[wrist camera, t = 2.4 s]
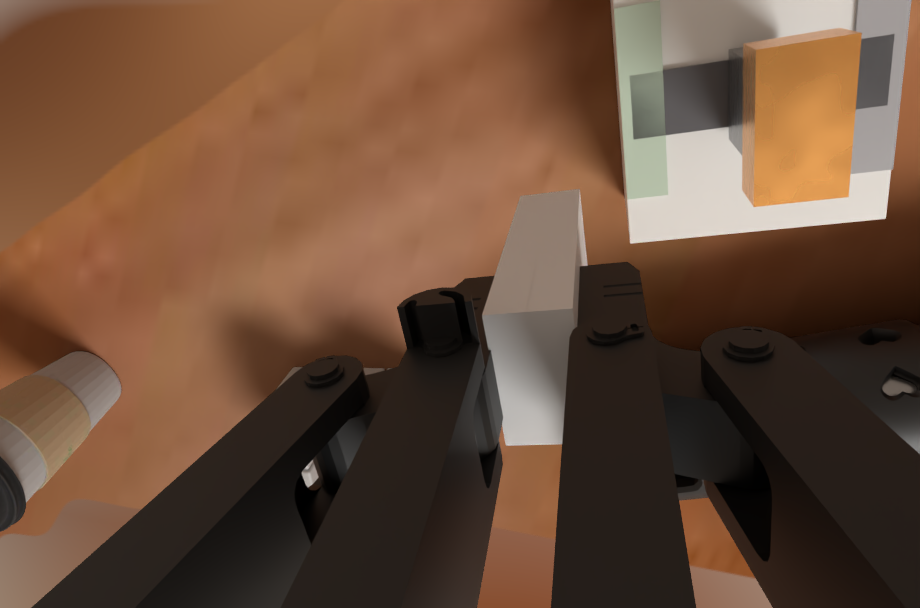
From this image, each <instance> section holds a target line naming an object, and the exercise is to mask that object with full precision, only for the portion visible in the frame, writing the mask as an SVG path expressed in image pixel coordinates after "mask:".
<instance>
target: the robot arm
mask: <svg viewBox="0 0 920 608" xmlns="http://www.w3.org/2000/svg"><path fill="white" fill-rule="evenodd" d="M397 309H398V313H399V318H400V322H401V326H402V330H403V334H404V338H405V342H406V346H407V350H406V352H405V354H404V356H403V358H402V360H401V362H400V364H399V367H395V368H392V369H389V370H385V371H381V372H377V373H373V374H368V375H365V373H364V369H363V366H362V363H361V362H360V361H359V360H358V359H357V358H354V357H350V356H327V357H326V358H325V357H323V358H320V359H317V360H316V361H314V362H312V363H310V364H307V365H305V366H304V367H302V368H301V369H300V370H298V371H297V372H295V373H294V374H293V375H292V376H291V377H290V378H288V379H287V380H286V381H285V382H284V383H283V384H282V385H281V386H279V387H278V388H277V389H276V390H275V391H274V392H273V393H272V394H271V395H269V396H268V397H267V398H266V399H265V400H264V401H263V402H262V403H260V404H259V405H258V406H257V407H256V408H255V409H254V410H253V411H251V412H250V413H249V414H248V415H247V416H246V417H245V418H244V419H242V420H241V421H240V422H239V423H238V424H237V425H236V426H235V427H234V428H232V429H231V430H230V431H229V432H228V433H227V434H226V435H225V436H223V437H222V438H221V439H220V440H219V441H218V442H217V443H216V444H214V445H213V446H212V447H211V448H210V449H209V450H208V451H207V452H205V453H204V454H203V455H202V456H201V457H200V458H199V459H198V460H196V461H195V462H194V463H193V464H192V465H191V466H190V467H189V468H188V469H186V470H185V471H184V472H183V473H182V474H181V475H180V476H179V477H177V478H176V479H175V480H174V481H173V482H172V483H171V484H170V485H168V486H167V487H166V488H165V489H164V490H163V491H162V492H161V493H159V494H158V495H157V496H156V497H155V498H154V499H153V500H152V501H151V502H149V503H148V504H147V505H146V506H145V507H144V508H143V509H142V510H140V511H139V512H138V513H137V514H136V515H135V516H134V517H133V518H132V519H130V520H129V521H128V522H127V523H126V524H125V525H124V526H122V527H121V528H120V529H119V530H118V531H117V532H116V533H115V534H114V535H113V536H111V537H110V538H109V539H108V540H107V541H106V542H105V543H103V544H102V545H101V546H100V547H99V548H98V549H97V550H96V551H94V552H93V553H92V554H91V555H90V556H89V557H88V558H87V559H85V560H84V561H83V562H82V563H81V564H80V565H79V566H78V567H76V568H75V569H74V570H73V571H72V572H71V573H70V574H69V575H68V576H66V577H65V578H64V579H63V580H62V581H61V582H60V583H59V584H57V585H56V586H55V587H54V588H53V589H52V590H51V591H50V592H49V593H47V594H46V595H45V596H44V597H43V598H42V599H41V600H39V601H38V602H37V603H36V604H35V605H34V606H33V607H32V608H477V605H478V599H479V594H480V588H481V582H482V577H483V571H484V566H485V560H486V555H487V549H488V543H489V538H490V532H491V527H492V521H493V515H494V510H495V504H496V499H497V493H498V487H499V482H500V476H501V471H502V465H503V462H502V454H501V449H500V444H499V436H500V431H501V426H503V432H504V437H505V443H506V446H510V445H547V444H562V455H561V469H560V484H559V499H558V513H557V528H556V543H555V557H554V572H553V587H552V601H551V608H696V604H695V598H694V592H693V586H692V579H691V573H690V567H689V560H688V554H687V548H686V542H685V535H684V529H683V523H682V517H681V510H680V504H679V498H678V492H677V486H676V479H675V474H678V475H682V476H687V477H692V478H696V479H701V480H704V486H705V490H706V493H707V495H708V497H709V499H710V501H711V502H712V504H713V506H714V507H715V509H716V511H717V513H718V514H719V516H720V518H721V519H722V521H723V523H724V525H725V526H726V528H727V530H728V531H729V533H730V535H731V537H732V538H733V540H734V542H735V543H736V545H737V547H738V549H739V550H740V552H741V554H742V555H743V557H744V559H745V561H746V562H747V564H748V566H749V567H750V569H751V571H752V573H753V574H754V576H755V578H756V579H757V581H758V582H759V585H760V586H761V588H762V590H763V591H764V593H765V595H766V597H767V598H768V600H769V602H770V603H771V605H772V607H773V608H920V454H919V453H918V452H917V451H916V450H915V449H913V448H912V447H911V446H910V445H909V444H908V443H907V442H906V441H905V440H903V439H902V438H901V437H900V436H899V435H898V434H897V433H896V432H895V431H893V430H892V429H891V428H890V427H889V426H888V425H887V424H886V423H885V422H883V421H882V420H881V419H880V418H879V417H878V416H877V415H876V414H875V413H873V412H872V411H871V410H870V409H869V408H868V407H867V406H866V405H865V404H863V403H862V402H861V401H860V400H859V399H858V398H857V397H856V396H854V395H853V394H852V393H851V392H850V391H849V390H848V389H847V388H846V387H844V386H843V385H842V384H841V383H840V382H839V381H838V380H837V379H836V378H834V377H833V376H832V375H831V374H830V373H829V372H828V371H827V370H826V369H824V368H823V367H822V366H821V365H820V364H819V363H818V362H817V361H816V360H814V359H813V358H812V357H811V356H810V355H809V354H808V353H807V352H806V351H804V350H803V349H802V348H801V347H800V346H799V345H798V344H797V343H796V342H794V341H793V340H792V339H790V338H788V337H787V336H785V335H783V334H782V333H779V332H776V331H772V330H769V329H765V328H762V327H752V326H742V327H737V328H728V329H725V330H721V331H718V332H715V333H713V334H711V335H710V336H709V337H707V338H706V339H704V341H703V343H702V345H701V348H700V351H693V350H686V349H680V348H675V347H672V346H669V345H666V344H664V343H662V342H660V341H658V340H656V339H655V338H654V337H653V336H652V331H651V330H650V328H649V326H648V322H647V316H646V309H645V303H644V297H643V290H642V285H641V278H640V271H639V270H637V269H636V268H635V267H634V266H632V265H631V264H630V263H628V262H621V263H611V264H600V265H589V266H588V265H587V256H586V246H585V236H584V226H583V217H582V207H581V197H580V189H575V190H567V191H559V192H550V193H542V194H534V195H526V196H520V199H519V202H518V205H517V208H516V212H515V215H514V218H513V221H512V224H511V227H510V230H509V233H508V236H507V239H506V242H505V246H504V249H503V252H502V255H501V258H500V261H499V264H498V267H497V270H496V273H495V276H489V277H478V278H467V279H464V280H463V281H462V282H461V283H459V284H458V285H457V286H456V287H455V288H437V289H431V290H426V291H424V292H421V293H418V294H415V295H413V296H411V297H409V298H407V299H406V300H404V301H403V302H402V303H401V304H400V305H399V306H398V307H397ZM312 460H313V463H314V466H315V468H316V471H317V474H318V479H317V480H316V481H315V482H314V483H313V484H312V485H311V486H309V487H307V485H306V484H305V481H304V479H303V476H302V471H303V470H304V469H305V467H306V466H307V465H308V464H309V463H310V462H311V461H312Z"/></svg>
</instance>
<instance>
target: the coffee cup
mask: <svg viewBox="0 0 920 608" xmlns="http://www.w3.org/2000/svg"><path fill="white" fill-rule="evenodd" d="M120 394H121V384H120V381H119V379H118V377H117V375H116V374H115V372H114V371H113V370H112V368H111V367H110V366H109V365H108V364H107V363H106V362H104V361H103V360H102V359H101V358H99V357H97V356H96V355H94V354H91V353H89V352H84V351H76V352H72V353H70V354H68V355H66V356H64V357H62V358H60V359H59V360H57V361H55V362H53V363H51V364H50V365H48V366H46V367H44V368H42V369H41V370H39V371H37V372H35V373H33V374H32V375H29V376H25V377H23V378H21V379H19V380H17V381H15V382H14V383H12V384H10V385H8V386H6V387H5V388H3V389H1V390H0V532H1V531H3V530H5V529H7V528H8V527H10V526H11V525H13V524H14V523H16V522H18V521H19V520H20V519H21V518H22V516H23V514H24V512H25V508H26V502H27V501H28V500H29V499H30V498H31V496H32V495H33V494H34V493H35V492H36V491H38V490H39V489H41V488H42V487H43V486H44V485H45V484H46V483H47V482H48V480H49V479H50V478H51V477H52V476H53V475H54V474H55V473H56V471H57V470H58V469H59V468H60V467H61V466H62V465H63V464H64V462H65V461H66V460H67V459H68V458H69V457H70V456H71V455H72V453H73V452H74V451H75V450H76V449H77V448H78V447H79V446H80V444H81V443H82V442H83V441H84V440H85V439H86V437H87V436H88V435H89V432H90V430H91V429H92V428H93V427H94V426H95V425H96V424H97V423H98V421H99V420H100V419H101V418H102V417H103V416H104V415H105V413H106V412H107V411H108V410H109V409H110V408H111V407H112V406H113V404H114V403H115V402H116V401H117V400H118V398H119V397H120Z"/></svg>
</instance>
